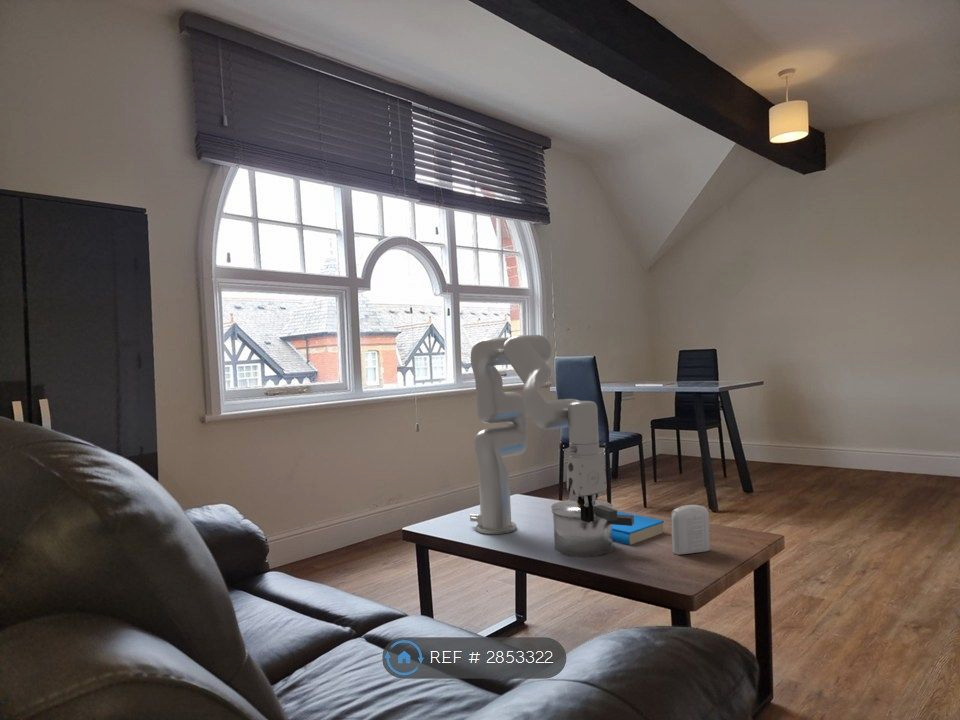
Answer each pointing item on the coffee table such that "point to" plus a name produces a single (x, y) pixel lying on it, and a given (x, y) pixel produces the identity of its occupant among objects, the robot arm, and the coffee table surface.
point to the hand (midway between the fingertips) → (587, 520)
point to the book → (637, 529)
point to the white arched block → (690, 529)
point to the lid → (573, 510)
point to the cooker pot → (586, 535)
